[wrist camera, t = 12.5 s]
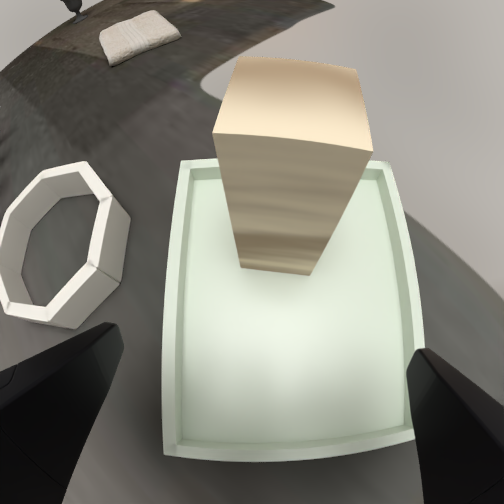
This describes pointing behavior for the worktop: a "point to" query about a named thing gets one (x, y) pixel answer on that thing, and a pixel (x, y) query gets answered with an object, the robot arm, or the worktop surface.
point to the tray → (288, 333)
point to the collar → (99, 257)
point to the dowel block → (289, 158)
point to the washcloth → (136, 36)
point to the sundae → (75, 8)
